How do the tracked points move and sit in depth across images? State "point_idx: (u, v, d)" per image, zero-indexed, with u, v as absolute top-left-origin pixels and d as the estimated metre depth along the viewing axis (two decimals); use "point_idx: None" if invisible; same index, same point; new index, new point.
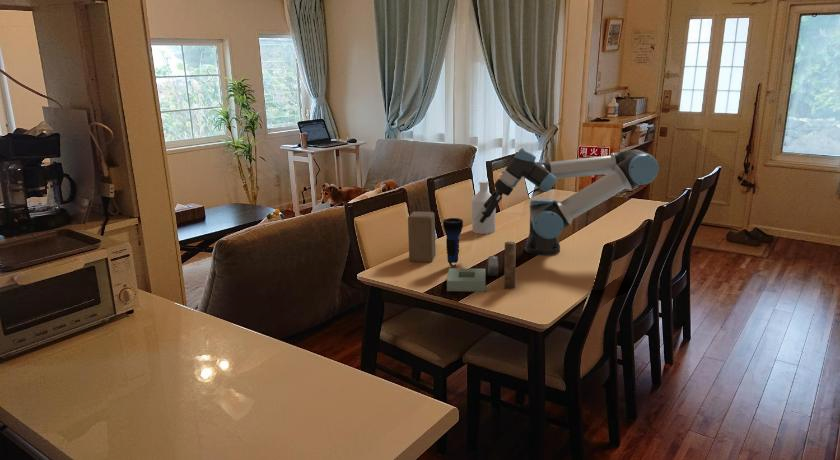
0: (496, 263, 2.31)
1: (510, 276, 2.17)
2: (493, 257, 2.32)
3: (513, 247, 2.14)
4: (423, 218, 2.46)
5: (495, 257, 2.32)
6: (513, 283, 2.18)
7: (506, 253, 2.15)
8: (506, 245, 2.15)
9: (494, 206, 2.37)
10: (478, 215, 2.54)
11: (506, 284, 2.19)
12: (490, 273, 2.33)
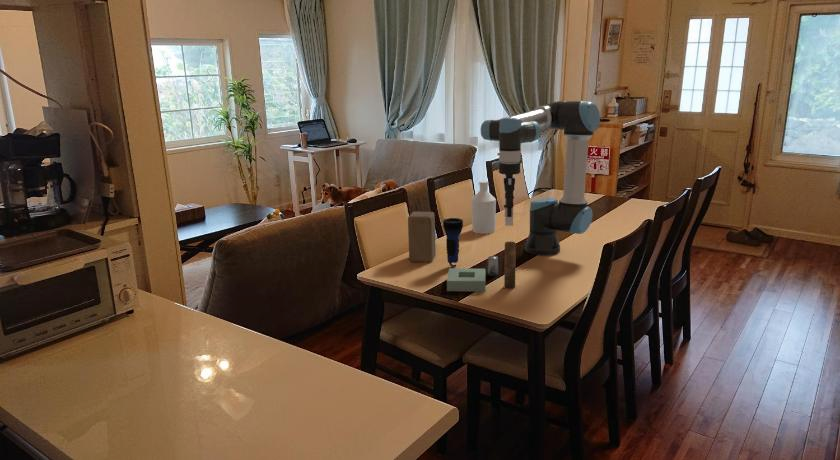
0: (496, 263, 2.31)
1: (510, 276, 2.17)
2: (493, 257, 2.32)
3: (513, 247, 2.14)
4: (423, 218, 2.46)
5: (495, 257, 2.32)
6: (513, 283, 2.18)
7: (506, 253, 2.15)
8: (506, 245, 2.15)
9: (511, 192, 2.03)
10: None
11: (506, 284, 2.19)
12: (490, 273, 2.33)
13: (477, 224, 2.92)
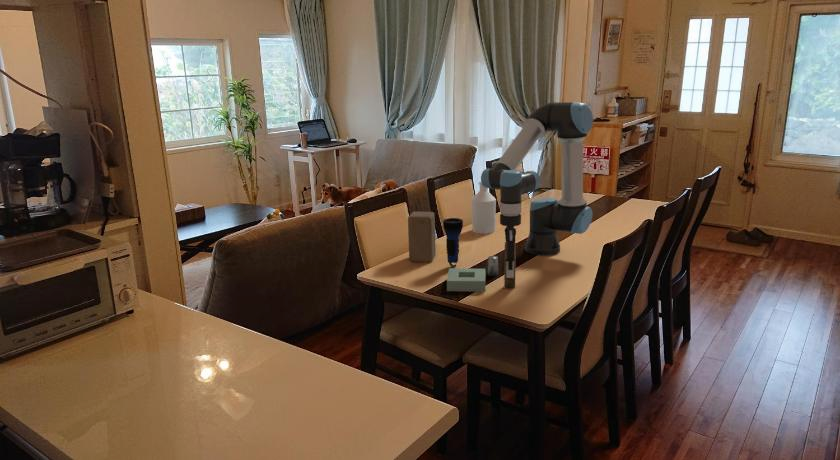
0: (496, 263, 2.31)
1: None
2: (493, 257, 2.32)
3: None
4: (423, 218, 2.46)
5: (495, 257, 2.32)
6: (513, 283, 2.18)
7: (506, 253, 2.15)
8: (506, 245, 2.15)
9: (512, 248, 2.10)
10: None
11: (506, 284, 2.19)
12: (490, 273, 2.33)
13: (477, 224, 2.92)
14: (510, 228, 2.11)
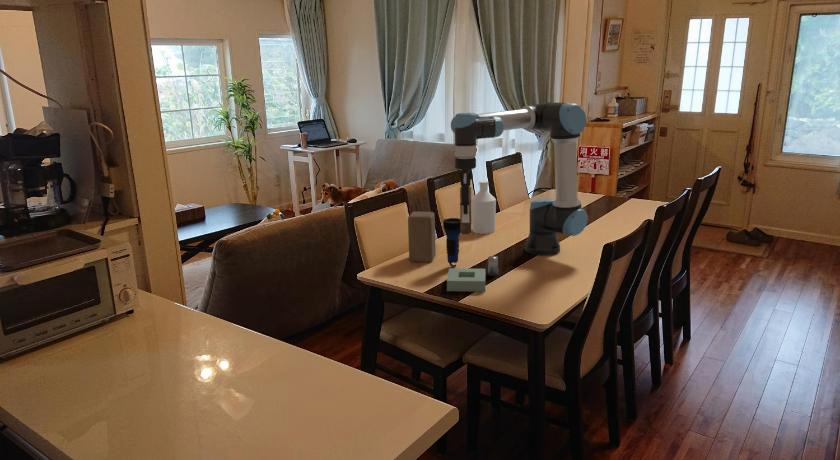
0: (496, 263, 2.31)
1: None
2: (493, 257, 2.32)
3: None
4: (423, 218, 2.46)
5: (495, 257, 2.32)
6: (469, 228, 2.16)
7: (461, 197, 2.14)
8: (461, 189, 2.13)
9: (466, 191, 2.09)
10: None
11: (462, 229, 2.17)
12: (490, 273, 2.33)
13: (477, 224, 2.92)
14: (464, 171, 2.09)
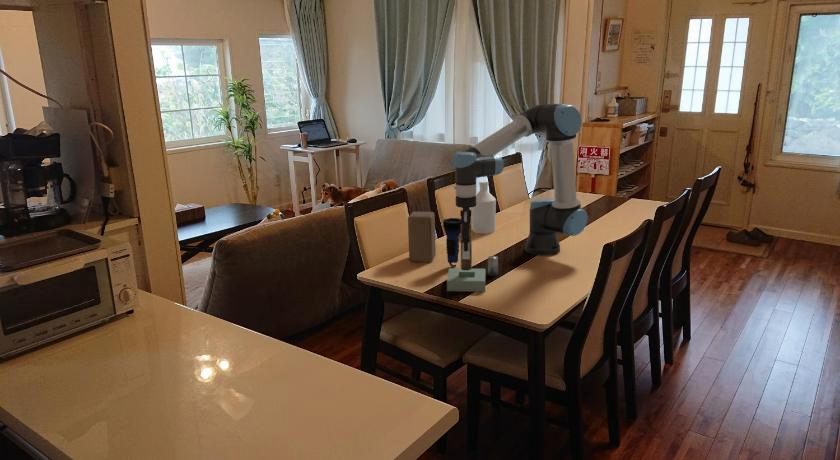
0: (496, 263, 2.31)
1: None
2: (493, 257, 2.32)
3: (469, 229, 2.16)
4: (423, 218, 2.46)
5: (495, 257, 2.32)
6: (469, 265, 2.20)
7: None
8: None
9: (467, 230, 2.12)
10: None
11: (462, 266, 2.21)
12: (490, 273, 2.33)
13: (477, 224, 2.92)
14: (465, 209, 2.13)
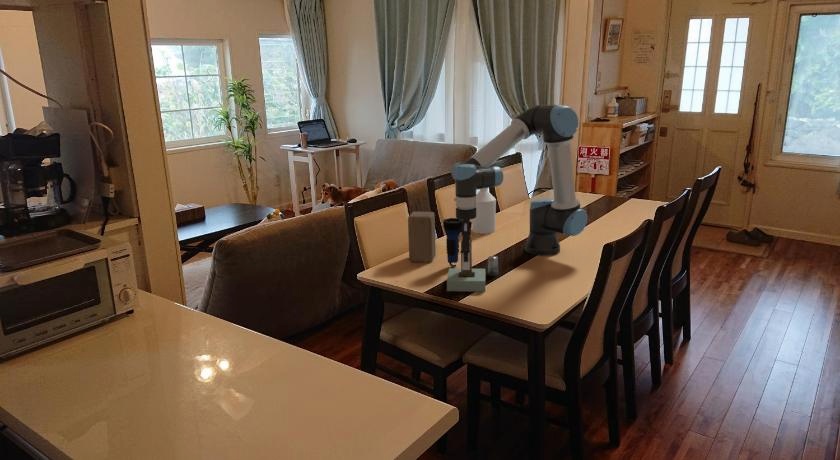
0: (496, 263, 2.31)
1: (466, 274, 2.21)
2: (493, 257, 2.32)
3: (469, 245, 2.18)
4: (423, 218, 2.46)
5: (495, 257, 2.32)
6: None
7: None
8: None
9: (467, 239, 2.11)
10: None
11: None
12: (490, 273, 2.33)
13: (477, 224, 2.92)
14: None
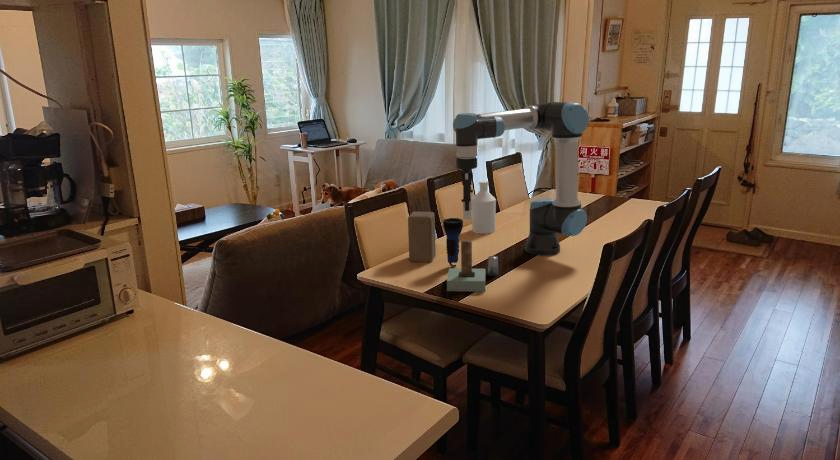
0: (496, 263, 2.31)
1: (466, 274, 2.21)
2: (493, 257, 2.32)
3: (469, 245, 2.18)
4: (423, 218, 2.46)
5: (495, 257, 2.32)
6: None
7: (462, 251, 2.19)
8: (462, 243, 2.18)
9: (468, 187, 2.08)
10: None
11: None
12: (490, 273, 2.33)
13: (477, 224, 2.92)
14: None
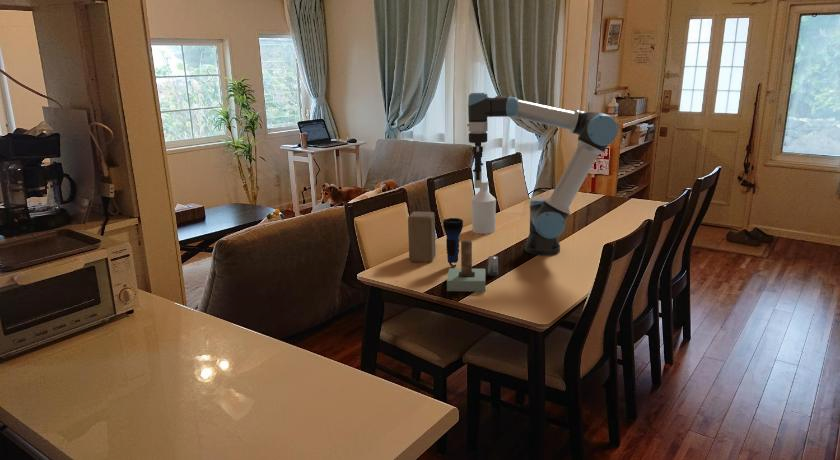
0: (496, 263, 2.31)
1: (466, 274, 2.21)
2: (493, 257, 2.32)
3: (469, 245, 2.18)
4: (423, 218, 2.46)
5: (495, 257, 2.32)
6: None
7: (462, 251, 2.19)
8: (462, 243, 2.18)
9: (479, 158, 2.32)
10: None
11: None
12: (490, 273, 2.33)
13: (477, 224, 2.92)
14: None
